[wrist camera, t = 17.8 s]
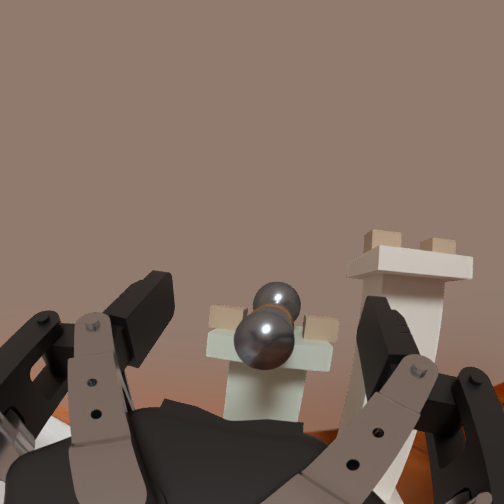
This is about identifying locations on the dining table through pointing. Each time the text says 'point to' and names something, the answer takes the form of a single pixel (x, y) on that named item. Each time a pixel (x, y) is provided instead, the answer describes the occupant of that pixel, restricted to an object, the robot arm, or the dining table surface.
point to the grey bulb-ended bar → (268, 327)
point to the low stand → (275, 380)
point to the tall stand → (403, 312)
